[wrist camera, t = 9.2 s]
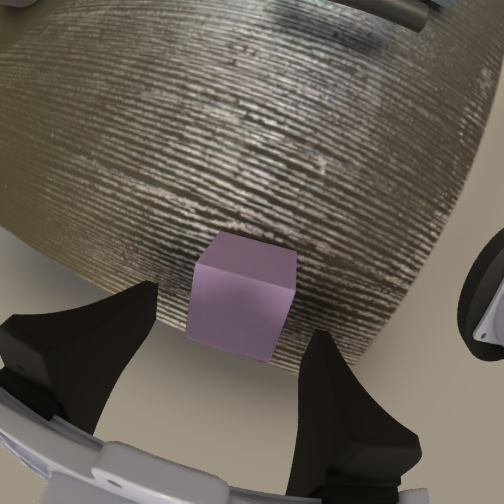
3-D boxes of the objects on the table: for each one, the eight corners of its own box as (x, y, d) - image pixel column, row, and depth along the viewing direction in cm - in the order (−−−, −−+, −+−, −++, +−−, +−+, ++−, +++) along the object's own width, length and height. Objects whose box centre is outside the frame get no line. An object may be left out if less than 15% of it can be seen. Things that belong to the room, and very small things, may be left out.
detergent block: (297, 251, 16) (296, 291, 12) (276, 314, 18) (269, 363, 14) (220, 229, 16) (194, 262, 12) (207, 295, 18) (184, 339, 14)
